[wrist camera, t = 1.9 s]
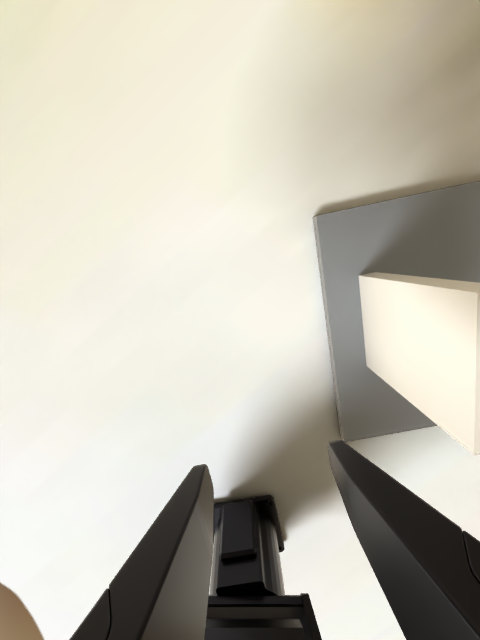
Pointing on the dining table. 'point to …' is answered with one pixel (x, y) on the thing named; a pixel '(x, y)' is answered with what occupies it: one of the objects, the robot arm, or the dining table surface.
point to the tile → (427, 346)
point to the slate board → (394, 258)
